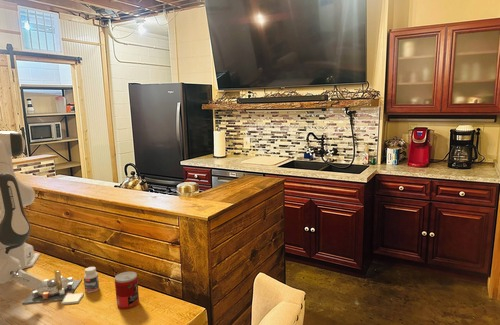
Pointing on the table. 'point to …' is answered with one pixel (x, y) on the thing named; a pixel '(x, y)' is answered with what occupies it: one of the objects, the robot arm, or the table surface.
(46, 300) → the gray square plate
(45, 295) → the sprocket
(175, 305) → the table surface
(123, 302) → the canned food
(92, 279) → the pill bottle
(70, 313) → the table surface
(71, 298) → the pad
